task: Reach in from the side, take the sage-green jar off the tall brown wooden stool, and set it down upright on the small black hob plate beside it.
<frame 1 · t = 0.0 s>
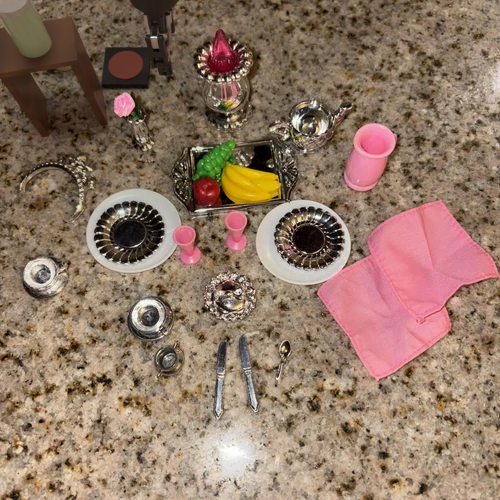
hand: (167, 52, 81), 25 cm above the granite countertop, tool pointing down, fingers open, 8 cm apart
candle: (65, 61, 111), on the granite countertop
hob: (127, 69, 110), on the granite countertop
jar: (34, 44, 87), point 20 cm above the granite countertop, touching brown wooden stool
brown wooden stool: (72, 111, 106), on the granite countertop
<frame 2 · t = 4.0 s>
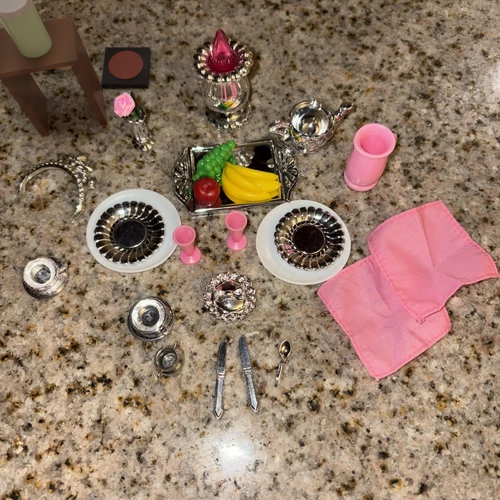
nothing on the granite countertop moved.
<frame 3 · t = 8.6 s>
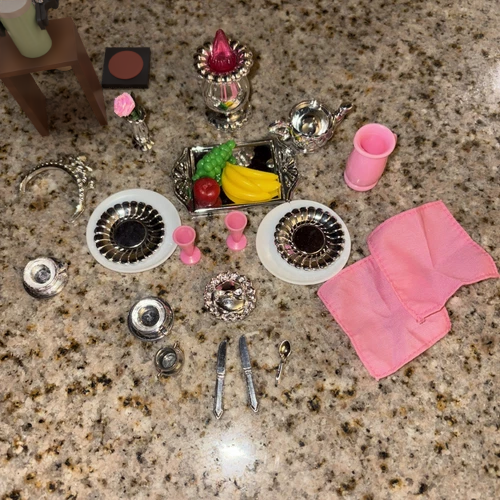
hand: (21, 29, 81), 26 cm above the granite countertop, tool horizontal, fingers closed on jar, 6 cm apart
jar: (34, 44, 87), point 20 cm above the granite countertop, touching gripper, brown wooden stool
everything else where it was.
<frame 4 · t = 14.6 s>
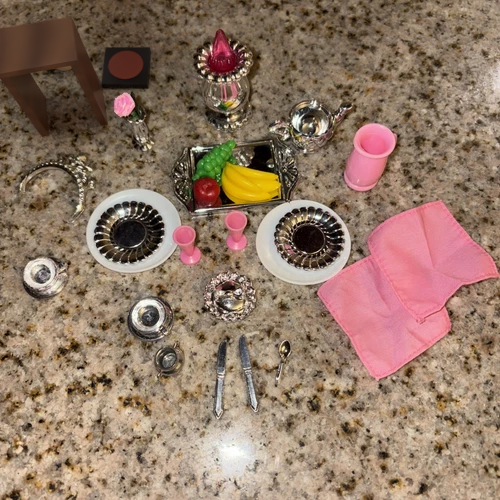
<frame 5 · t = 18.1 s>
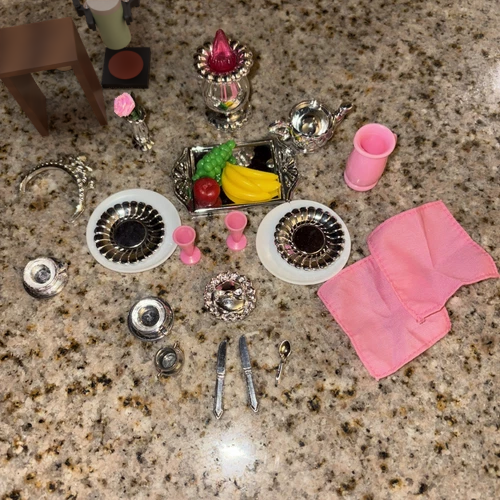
hand: (110, 24, 94), 16 cm above the granite countertop, tool horizontal, fingers closed on jar, 6 cm apart
jar: (116, 37, 101), point 10 cm above the granite countertop, touching gripper
everything else where it was.
when the fingers open (8 cm above the granite countertop, at t = 20.8 s): jar stays where it is, resting on hob.
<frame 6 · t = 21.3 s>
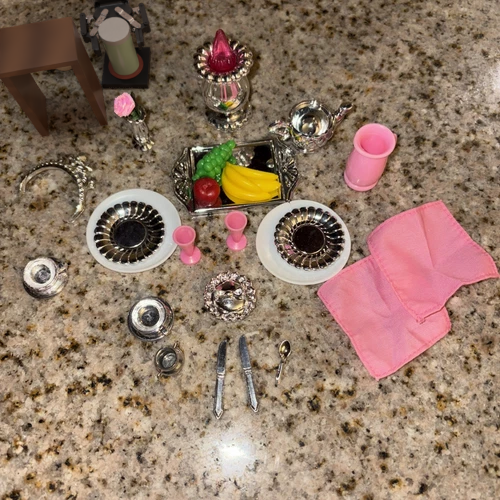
hand: (119, 50, 101), 8 cm above the granite countertop, tool horizontal, fingers open, 8 cm apart
jar: (125, 64, 108), point 2 cm above the granite countertop, touching hob
everything else where it was.
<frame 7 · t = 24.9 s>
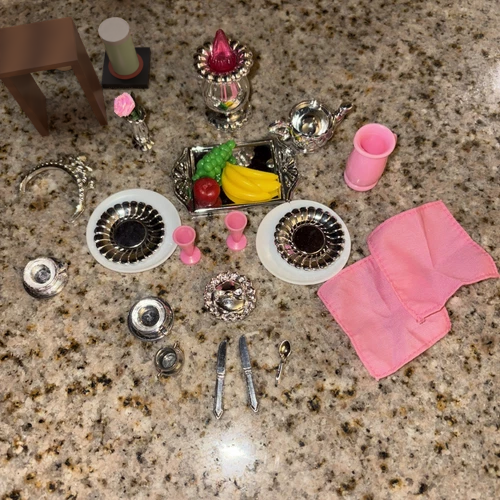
nothing on the granite countertop moved.
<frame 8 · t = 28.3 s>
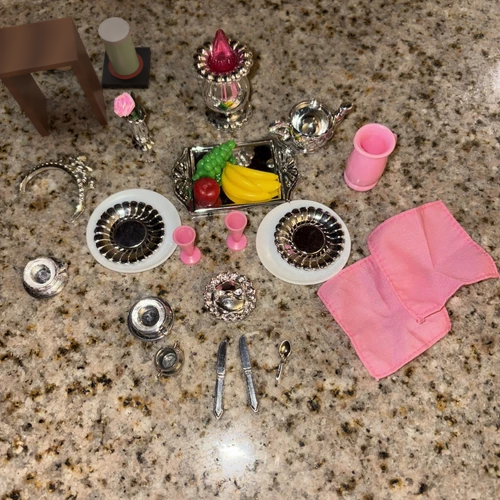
nothing on the granite countertop moved.
at the end: jar 0.1 cm off-centre on the hob, point 1.7 cm above the hob's base; jar tilted 0°; the gripper is holding nothing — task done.
